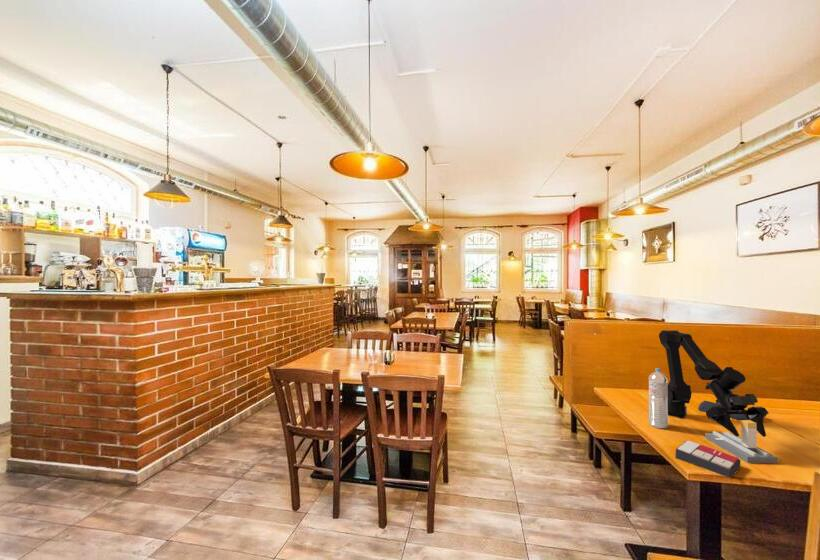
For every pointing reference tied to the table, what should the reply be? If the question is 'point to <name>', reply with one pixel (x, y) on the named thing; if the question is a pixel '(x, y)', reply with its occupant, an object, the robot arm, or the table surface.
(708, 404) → the dark slate chunk
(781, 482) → the table surface
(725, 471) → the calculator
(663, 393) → the water bottle
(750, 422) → the fader tab
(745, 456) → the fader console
